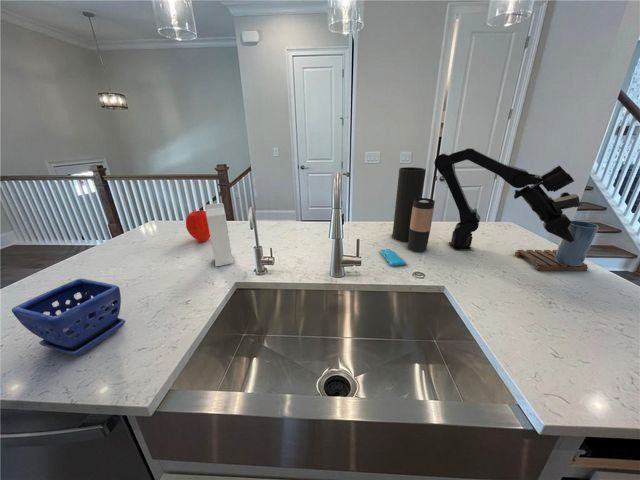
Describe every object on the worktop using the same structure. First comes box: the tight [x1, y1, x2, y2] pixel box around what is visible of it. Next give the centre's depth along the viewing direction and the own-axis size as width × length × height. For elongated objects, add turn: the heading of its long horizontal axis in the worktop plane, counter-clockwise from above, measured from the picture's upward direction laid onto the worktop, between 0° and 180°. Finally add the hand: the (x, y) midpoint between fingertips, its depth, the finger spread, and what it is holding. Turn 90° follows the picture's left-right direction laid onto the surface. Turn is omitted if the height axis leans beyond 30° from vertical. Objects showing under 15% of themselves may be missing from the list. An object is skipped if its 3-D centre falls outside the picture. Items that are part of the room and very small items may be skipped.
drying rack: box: [514, 249, 589, 272], centre depth 92 cm, size 16×12×2 cm
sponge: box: [380, 248, 406, 267], centre depth 97 cm, size 2×12×6 cm
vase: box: [391, 166, 427, 243], centre depth 111 cm, size 10×10×30 cm
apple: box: [185, 210, 211, 242], centre depth 114 cm, size 12×12×13 cm
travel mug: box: [407, 197, 436, 253], centre depth 101 cm, size 8×8×20 cm
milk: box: [204, 202, 234, 267], centre depth 92 cm, size 6×6×22 cm
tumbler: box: [554, 220, 600, 266], centre depth 86 cm, size 7×7×14 cm
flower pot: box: [11, 278, 126, 357], centre depth 59 cm, size 13×13×12 cm
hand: (569, 236), depth 87 cm, fingers open, 9 cm apart
